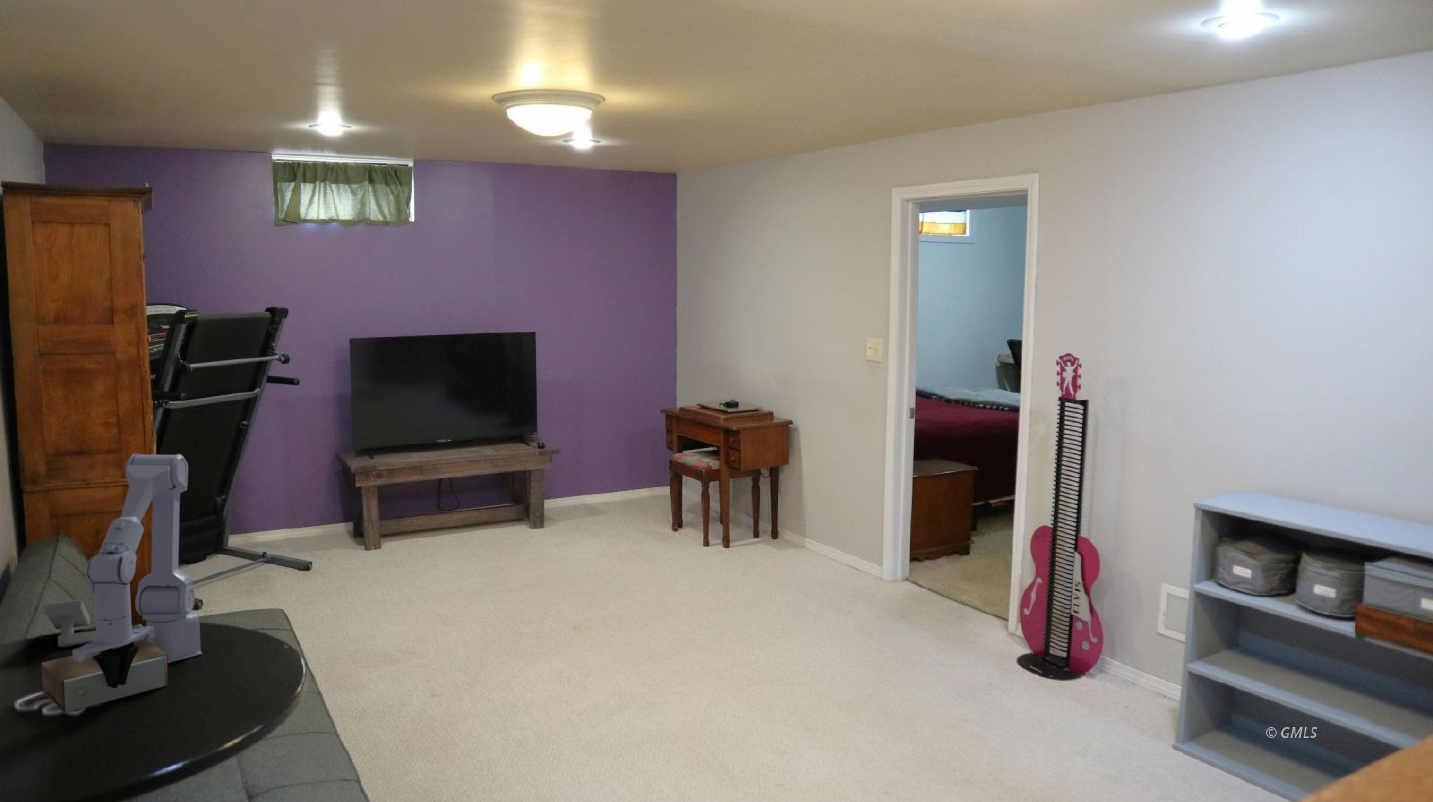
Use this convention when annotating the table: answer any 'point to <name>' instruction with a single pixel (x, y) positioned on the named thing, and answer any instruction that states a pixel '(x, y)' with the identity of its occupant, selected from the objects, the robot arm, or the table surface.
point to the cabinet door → (97, 690)
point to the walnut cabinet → (84, 670)
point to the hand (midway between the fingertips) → (116, 685)
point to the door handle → (71, 622)
